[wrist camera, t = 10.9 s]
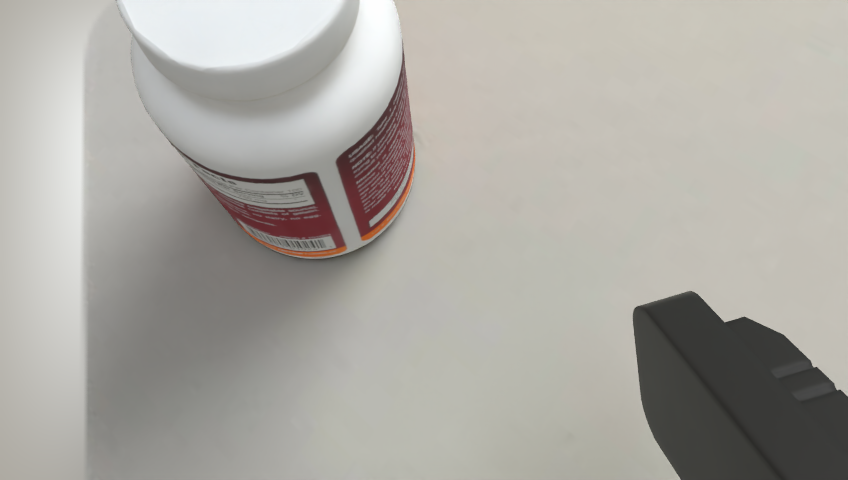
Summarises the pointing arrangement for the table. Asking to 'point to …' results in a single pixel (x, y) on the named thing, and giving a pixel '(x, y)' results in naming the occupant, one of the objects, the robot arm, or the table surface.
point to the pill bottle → (283, 112)
